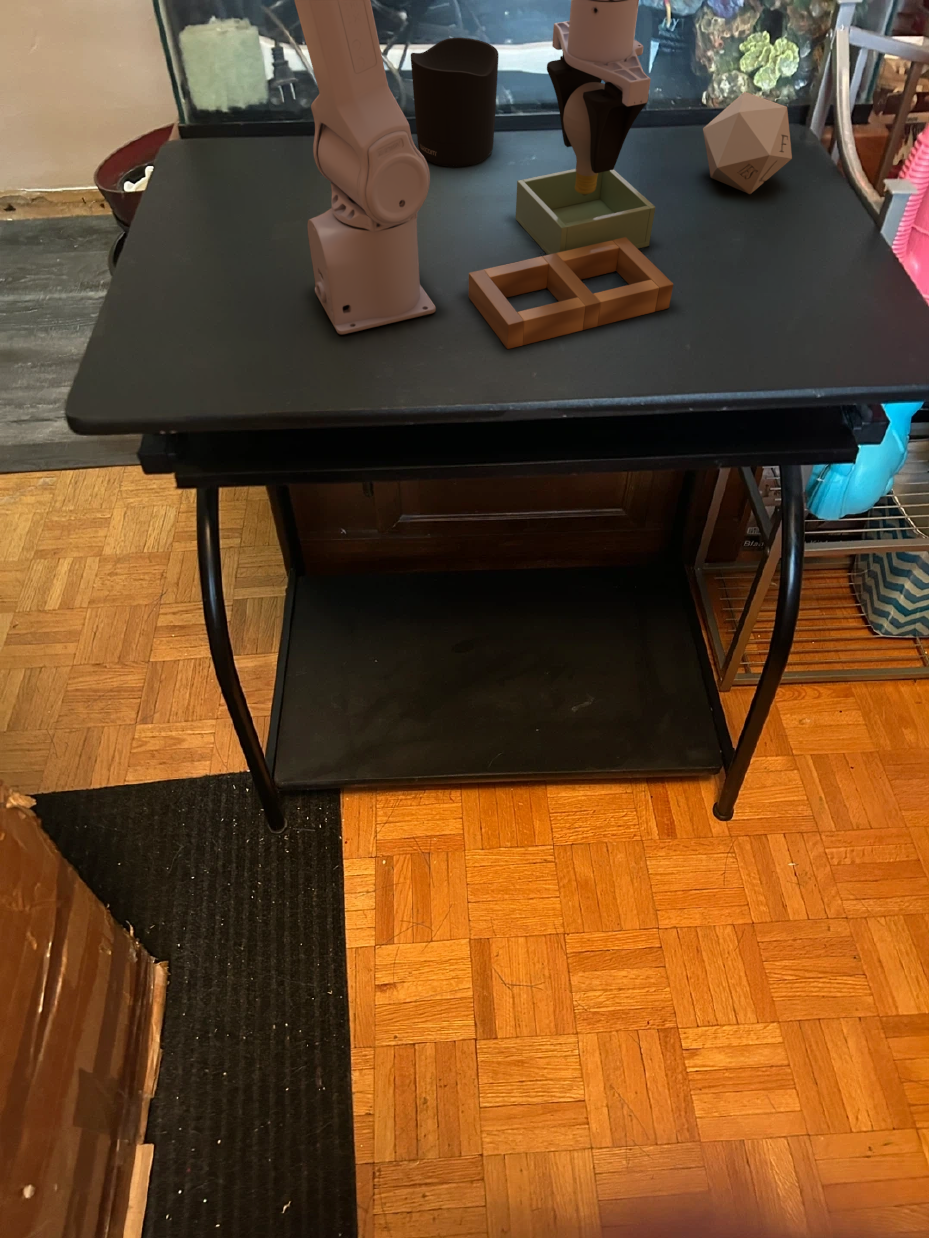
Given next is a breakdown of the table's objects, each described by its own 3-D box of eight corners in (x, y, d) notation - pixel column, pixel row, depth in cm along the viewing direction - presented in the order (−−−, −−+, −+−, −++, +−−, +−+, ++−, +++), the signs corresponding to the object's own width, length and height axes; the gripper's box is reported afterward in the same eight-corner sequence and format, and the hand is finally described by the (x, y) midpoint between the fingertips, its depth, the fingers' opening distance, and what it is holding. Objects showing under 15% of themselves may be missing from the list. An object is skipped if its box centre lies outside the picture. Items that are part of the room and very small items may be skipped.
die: (710, 211, 94) (789, 140, 87) (671, 140, 95) (746, 64, 88) (747, 213, 100) (824, 147, 93) (710, 146, 101) (784, 75, 93)
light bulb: (623, 197, 87) (639, 87, 79) (580, 213, 85) (592, 102, 77) (588, 176, 90) (600, 67, 82) (546, 191, 88) (553, 81, 80)
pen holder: (412, 135, 104) (407, 39, 97) (490, 131, 105) (492, 35, 97) (418, 172, 99) (414, 74, 91) (501, 167, 99) (504, 69, 91)
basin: (558, 267, 86) (561, 228, 83) (515, 219, 92) (516, 180, 89) (649, 246, 89) (655, 207, 86) (601, 200, 95) (606, 162, 91)
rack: (507, 349, 78) (508, 324, 76) (468, 297, 83) (468, 272, 81) (669, 308, 82) (673, 284, 80) (622, 261, 87) (625, 236, 85)
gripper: (692, 12, 71) (663, 182, 81) (607, -41, 79) (590, 119, 90) (615, 25, 69) (595, 197, 80) (536, -31, 77) (528, 131, 88)
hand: (588, 157), depth 85 cm, fingers closed on light bulb, 5 cm apart
